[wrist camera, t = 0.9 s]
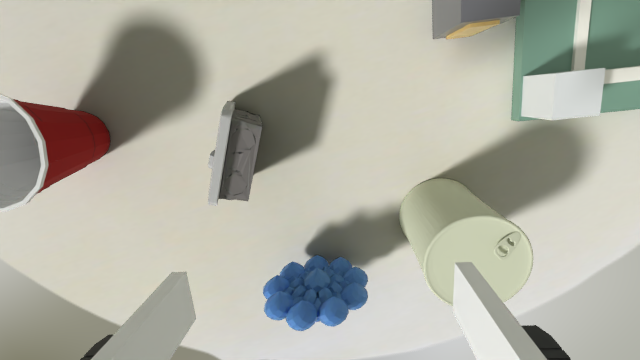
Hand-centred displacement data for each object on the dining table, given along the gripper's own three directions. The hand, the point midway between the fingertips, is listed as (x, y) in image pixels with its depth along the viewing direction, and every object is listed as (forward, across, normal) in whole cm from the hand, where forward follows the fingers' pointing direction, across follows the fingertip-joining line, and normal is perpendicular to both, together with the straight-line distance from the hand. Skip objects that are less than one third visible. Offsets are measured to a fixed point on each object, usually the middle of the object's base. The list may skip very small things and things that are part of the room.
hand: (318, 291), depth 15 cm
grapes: (+23, -2, -12) cm, 26 cm away
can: (+23, +12, -6) cm, 27 cm away
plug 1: (+23, +14, +16) cm, 31 cm away
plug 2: (+21, +22, +8) cm, 32 cm away
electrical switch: (+23, -10, +4) cm, 26 cm away
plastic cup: (+23, -29, +7) cm, 38 cm away
